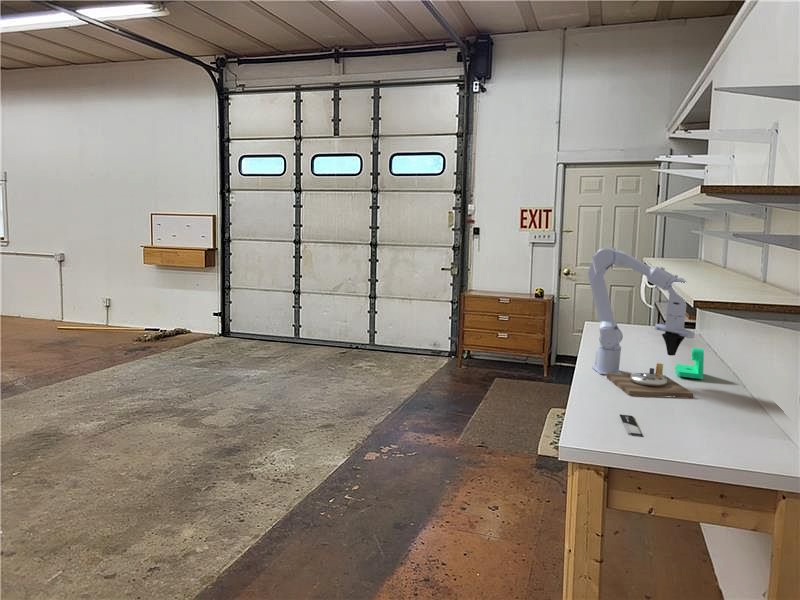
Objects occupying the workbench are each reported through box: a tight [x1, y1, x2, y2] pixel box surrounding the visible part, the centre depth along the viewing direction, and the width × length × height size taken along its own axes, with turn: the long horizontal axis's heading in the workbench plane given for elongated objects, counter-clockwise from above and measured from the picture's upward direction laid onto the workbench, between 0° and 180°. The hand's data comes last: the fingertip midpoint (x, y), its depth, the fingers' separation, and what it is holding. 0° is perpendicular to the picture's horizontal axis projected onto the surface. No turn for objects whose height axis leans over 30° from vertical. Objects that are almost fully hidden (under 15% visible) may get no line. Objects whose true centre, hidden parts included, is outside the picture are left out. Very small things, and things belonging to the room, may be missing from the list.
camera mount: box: [674, 347, 705, 380], centre depth 210 cm, size 12×8×10 cm, turn 160°
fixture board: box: [605, 373, 694, 399], centre depth 194 cm, size 20×20×2 cm
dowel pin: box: [648, 367, 655, 374], centre depth 199 cm, size 1×1×3 cm
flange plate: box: [630, 362, 667, 386], centre depth 195 cm, size 15×11×5 cm
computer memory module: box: [619, 414, 645, 438], centre depth 157 cm, size 15×1×4 cm
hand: (671, 355), depth 200 cm, fingers closed
